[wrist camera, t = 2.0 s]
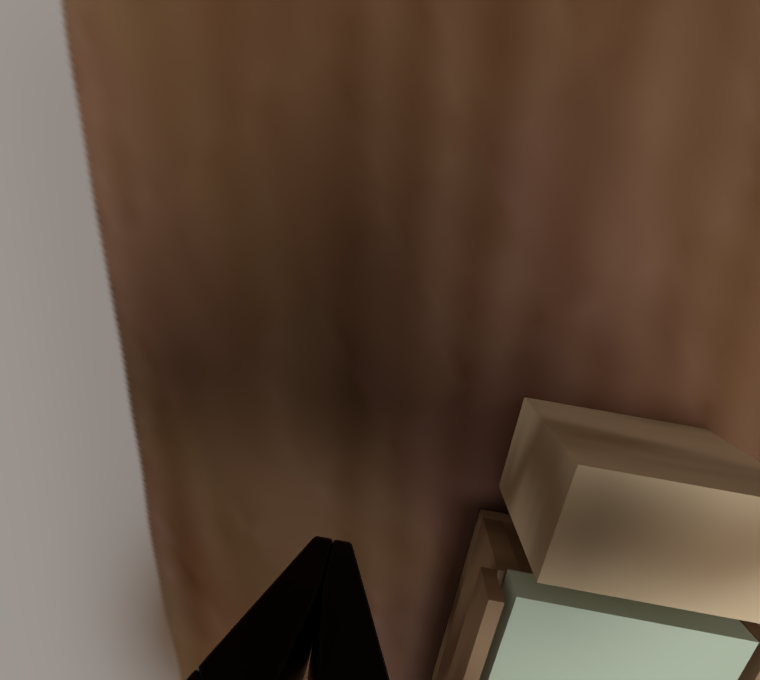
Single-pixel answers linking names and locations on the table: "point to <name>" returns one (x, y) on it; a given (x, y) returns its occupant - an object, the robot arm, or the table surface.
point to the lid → (608, 638)
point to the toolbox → (499, 601)
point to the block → (635, 509)
